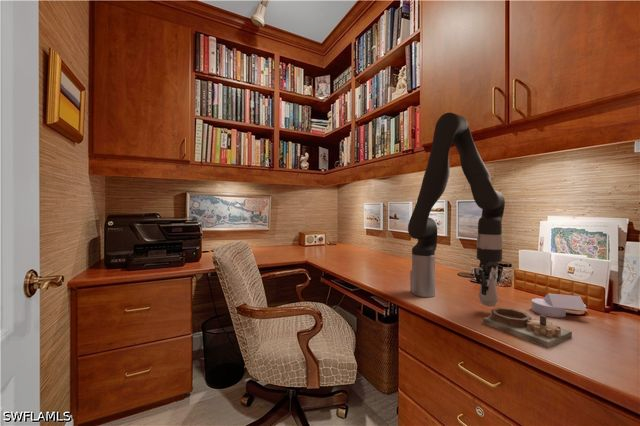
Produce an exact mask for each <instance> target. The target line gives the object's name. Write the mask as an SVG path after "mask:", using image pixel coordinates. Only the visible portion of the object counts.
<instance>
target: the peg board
mask: <svg viewBox="0 0 640 426" xmlns="http://www.w3.org/2000/svg"><path fill="white" fill-rule="evenodd" d="M490 312H491V313H490V314H491V315H489V316H486V317H482V324H484V325H487V326H490V327H493V328H495V329H498V330H500V331H503V332H505V333H508V334H511V335H513V336H516V337H519V338H522V339H524V340H526V341H529V342H532V343H535V344H536V345H540V346H543V347H545V348H548V349H549V348H552V347H553V346H556V345H558V344H560V343H562V342H564V341H566V340H569V339H570V338H572V337H573V331H571V330H567V329H565V328H561V326H560V325H559V324H557V325H556V324H553V322H550V321H547V316H546V315H542V314H539V319H538V318H536V319H535V318H534V319H533V318H532V317H531V316H530V315H529V314H528V313H526V312H523V311H520V310H517V309H514V308H508V307H507V308H506V307H495V308H492V309H491V310H490Z"/></svg>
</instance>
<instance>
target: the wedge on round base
mask: <svg viewBox="0 0 640 426" xmlns="http://www.w3.org/2000/svg"><path fill="white" fill-rule="evenodd" d="M567 309H568V310H577V311H585V312H588V309H587V307H586V305H585V303H584V301H583V299H582V297H581V296H580V295H570V294H562V293H561V294H560V293H559V294H558V293H549V292H548V293H547V294H546V295H545V296H544V297H543V298H537V297H536V298H532V299H531V310H532V311H533V312H534V313H536V314H538V315H544V316H546V317H551V318H552V317H553V318H565V317H566V316H567Z"/></svg>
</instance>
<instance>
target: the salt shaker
mask: <svg viewBox="0 0 640 426" xmlns="http://www.w3.org/2000/svg"><path fill="white" fill-rule="evenodd" d="M494 275H496V270H495V269H493V272H492V279H491V280H490V283H489V286H488V287H489V289H488V290H487V292H486V295H483V294H482V285H481V284H480V289H479V292H478V299H479V301H480V303H481V304H482V305H483V306H486V307H495V306H496V304H497V303H498V301H499V296H498V291H497V284H496V285H495V280H494ZM484 276H485V275H484ZM485 277H488V276H485ZM485 281H486V279H485Z"/></svg>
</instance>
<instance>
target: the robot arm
mask: <svg viewBox="0 0 640 426" xmlns="http://www.w3.org/2000/svg"><path fill="white" fill-rule="evenodd" d="M433 131H434V132H433V138H432V143H431V149H430V152H429V156H428V160H427V165H426V167H425V172H424V175H423V178H422V181H421V186H420V190H419V193H418V196H417V200H416V202H415V206H414V208H413V211H412V214H411V215H410V219H409V220H408V221H409V222H408V223H407V232H408V235H409V237H411V239H413V240H417V242H416V244H415V245H414V246H413V247H412V248H411V270H410V274H409V275H410V277H409V279H410V281H409V282H410V289H409V290H410V293H412V294H413V295H414V296H417V297H420V298H421V297H422V298H432V297H436V257H435V256H436V249H437V246H438V225H437V222H436V220H434V219H433V218H431V217H430V214H431V211H432V209H433V208H434V206H435V205H436V203H437V202H438V201H439V200H440V199H441V197H442V196H443V195H444V192H445V190H446V188H447V184H448V180H449V179H450V171H451V170H450V150H451V147H452V144H453V145H454V146H455V148H456V150H457V152H458V155H459V159H460V160H459V161H460V166H461V170H462V172H463V174H464V176H465V179H466V180H467V182H468V185H469V186H470V189H471V195H472V198H473V200H474V202H475V204H476V205H477V206H478V207H479V209H481V210H482V211H481V217H480V218H479V219H478V222H477V237H476V260H479V265H478V268H474V269H473V272H474V276H475V280H476V283H477V285H480V286H481V285H482V294H483V295H486V292H487V290H488V289H489V287H488V286H489V283H490V280H491V279H492V272H493V269H495V270H496V275H494V280H495V285H496V286H497V284H498V283H500V281H501V279H502V278H501V277H502V274H503V270H504V266H502V265H499V263H500V262H502V261H503V235H502V234H503V232H502V231H503V229H502V228H503V225H502V222H503V221H502V220H503V218H504V217H503V216H504V211H505V208H506V207H505V206H506V203H505V202H506V200H505V196H504V194H503V193H501V192H500V191H498V190H496V189H495V187H494V186H493V184H492V182H491V181H492V176H491V173H490V172H489V170H488V168H487V166H486V165H485V162H484V161H483V159H482V157H481V155H480V153H479V152H478V151H479V150H478V149H477V146H476V144H475V142H474V139H473V136H472V133H471V129H470V126H469V122H468V120H467V119H466V118H465V117H464V116H462V115H459V114H457V113H453V112H446V113H443V114H442V115H441V116H440V117H439V118H438V119H437V121H436V123H435V127H434V130H433ZM484 275H485V276H488V277H485V276H484ZM485 279H486V281H485Z"/></svg>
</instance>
